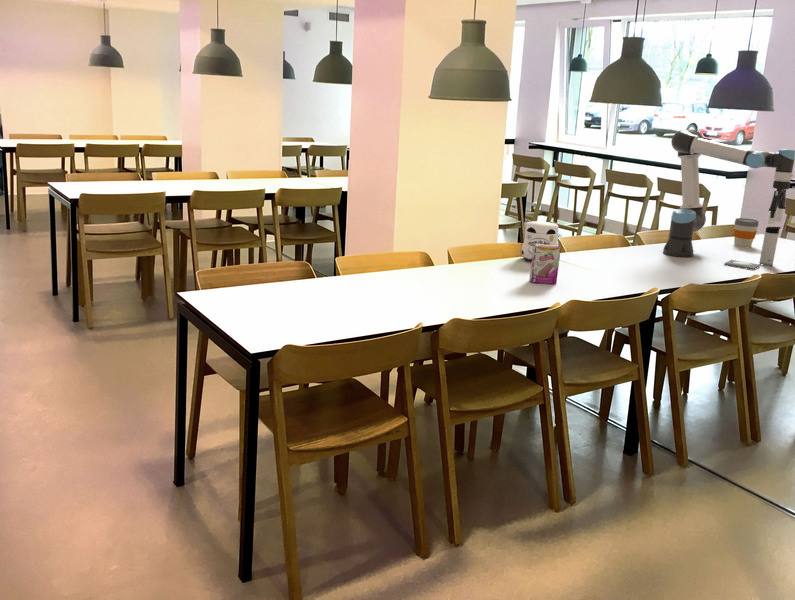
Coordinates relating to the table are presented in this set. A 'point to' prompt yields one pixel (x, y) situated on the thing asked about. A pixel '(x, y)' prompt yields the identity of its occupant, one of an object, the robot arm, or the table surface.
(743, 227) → the reusable coffee cup
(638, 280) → the table surface
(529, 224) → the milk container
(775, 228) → the travel mug
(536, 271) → the candy bar box
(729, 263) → the pad
